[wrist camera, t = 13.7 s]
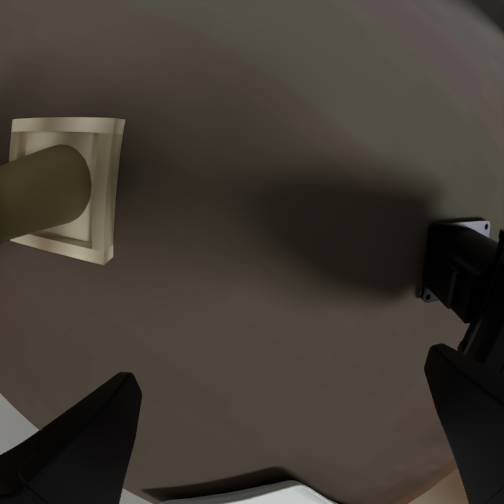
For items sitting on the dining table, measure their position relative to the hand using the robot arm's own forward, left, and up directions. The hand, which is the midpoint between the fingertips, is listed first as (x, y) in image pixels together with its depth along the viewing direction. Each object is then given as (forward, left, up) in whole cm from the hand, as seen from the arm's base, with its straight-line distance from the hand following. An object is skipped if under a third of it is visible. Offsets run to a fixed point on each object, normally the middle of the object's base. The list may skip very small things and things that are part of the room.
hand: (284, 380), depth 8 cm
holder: (+15, -6, -13) cm, 21 cm away
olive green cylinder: (+15, -6, -13) cm, 20 cm away
